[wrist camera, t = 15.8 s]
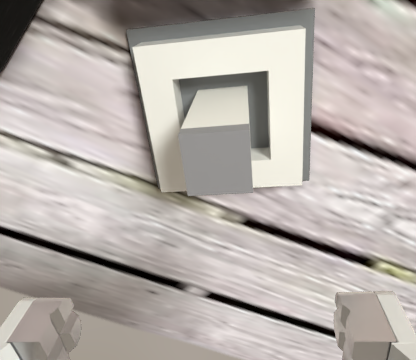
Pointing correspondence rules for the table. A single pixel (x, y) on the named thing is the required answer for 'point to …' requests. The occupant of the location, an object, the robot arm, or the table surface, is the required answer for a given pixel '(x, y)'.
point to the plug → (217, 143)
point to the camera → (14, 24)
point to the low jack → (230, 77)
